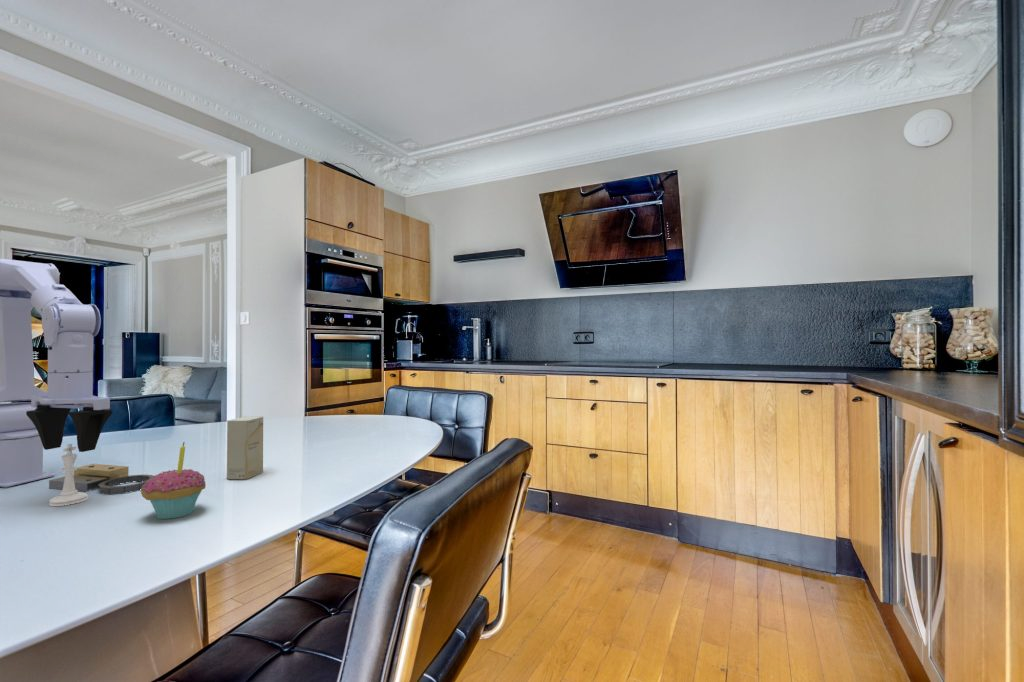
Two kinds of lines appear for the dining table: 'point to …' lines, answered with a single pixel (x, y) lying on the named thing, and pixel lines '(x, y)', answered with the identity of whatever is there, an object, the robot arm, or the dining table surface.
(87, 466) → the tan wooden block
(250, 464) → the skincare box
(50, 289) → the robot arm
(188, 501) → the cupcake
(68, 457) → the chess piece
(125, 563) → the dining table surface
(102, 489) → the dark gray flat piece
